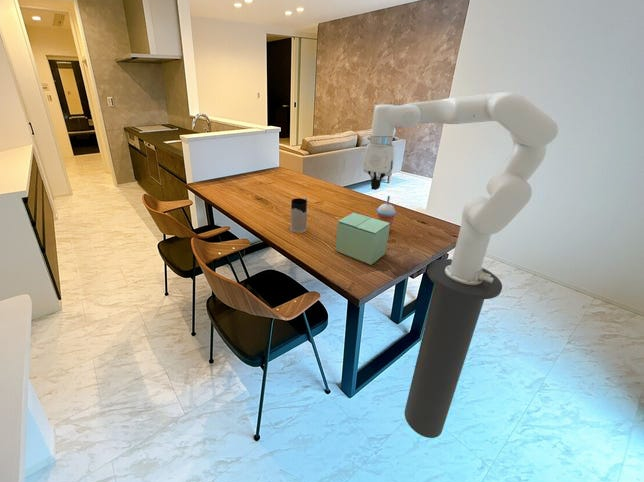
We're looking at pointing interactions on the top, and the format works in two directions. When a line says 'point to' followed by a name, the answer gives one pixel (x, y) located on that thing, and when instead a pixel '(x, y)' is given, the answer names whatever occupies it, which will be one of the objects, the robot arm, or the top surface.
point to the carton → (360, 239)
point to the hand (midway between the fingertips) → (375, 188)
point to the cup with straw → (386, 213)
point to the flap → (373, 225)
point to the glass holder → (298, 215)
